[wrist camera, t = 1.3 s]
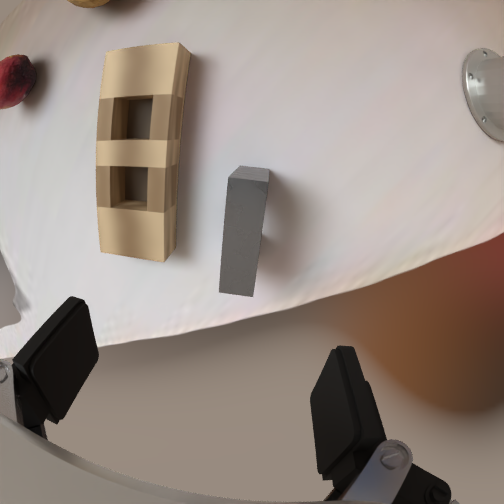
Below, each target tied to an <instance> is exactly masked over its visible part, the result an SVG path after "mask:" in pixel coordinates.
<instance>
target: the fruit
mask: <svg viewBox="0 0 504 504" xmlns="http://www.w3.org/2000/svg"><path fill="white" fill-rule="evenodd" d="M35 81H36V71H35V68H34V67H33V65H32V64H31V62H30V60H29V59H28V57H27V56H25V55H12V56H9V57H6V58H5V59H3V60H2V61H0V109H6V108H10V107H13V106H15V105H17V104H19V103H20V102H21V101H22V100H23V99H24V98H25V97H26V96H27V95H28V93H29V92H30V90H31V87H32V86H33V84H34V83H35Z"/></svg>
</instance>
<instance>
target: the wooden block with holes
mask: <svg viewBox="0 0 504 504" xmlns="http://www.w3.org/2000/svg"><path fill="white" fill-rule="evenodd" d="M190 55H191V53H190V52H189V51H188V50H187V49H186V48H185V47H184V46H183V45H181V44H180V43H165V44H154V45H145V46H137V47H130V48H124V49H118V50H112V51H107V52H106V56H105V62H104V68H103V75H102V82H101V90H100V99H99V109H98V122H97V140H96V197H97V216H98V230H99V240H100V250H101V252H103V253H109V254H115V255H121V256H127V257H134V258H140V259H146V260H153V261H159V262H165V261H166V259H167V258H168V257H169V256H170V254H171V253H172V252H173V250H174V249H175V248H176V213H177V187H178V168H179V153H180V140H181V129H182V118H183V109H184V100H185V91H186V83H187V76H188V69H189V62H190Z"/></svg>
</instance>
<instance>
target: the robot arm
mask: <svg viewBox="0 0 504 504" xmlns="http://www.w3.org/2000/svg"><path fill="white" fill-rule="evenodd" d="M462 78H463V87H464V92H465V96H466V99H467V102H468V105H469V107H470V110H471V112H472V114H473V116H474V118H475V120H476V121H477V123H478V124H479V126H480V127H481V128H482V129H483V130H484V131H485V132H486V134H488V135H489V136H490V137H492V138H494V139H496V140H499V141H504V56H503V57H500V56H499V55H498V54H497V53H495V52H493V51H491V50H489V49H483V48H481V49H476V50H474V51H472V52H470V53H469V54H468V55H467V57H466V59H465V61H464V65H463V73H462ZM98 357H99V353H98V349H97V345H96V341H95V336H94V332H93V328H92V323H91V318H90V313H89V308H88V305H87V304H86V303H85V301H84V300H83V299H80V298H76V297H73V296H71V297H69V298H68V299H67V300H66V301H65V302H64V303H63V304H62V305H61V306H60V307H59V308H58V309H57V310H56V311H55V312H54V313H53V314H52V315H51V317H50V318H49V319H48V320H47V321H46V322H45V323H44V324H43V325H42V326H41V327H40V328H39V330H38V331H37V332H36V333H35V334H34V335H33V336H32V337H31V338H30V340H29V341H28V342H27V343H26V344H25V345H24V346H23V348H22V349H21V350H20V351H19V352H18V354H17V355H16V356H15V357H14V359H13V362H14V363H13V364H12V365H11V364H10V363H9V362H8V361H7V360H3V359H0V504H459V503H458V502H457V501H456V500H453V501H452V500H451V490H450V487H449V485H448V484H447V483H446V482H444V481H443V480H441V479H439V478H438V477H436V476H434V475H432V474H430V473H429V472H427V471H425V470H423V469H422V468H420V467H418V466H416V465H415V464H413V463H412V461H413V457H412V452H411V450H410V449H409V447H408V446H407V445H406V444H405V443H403V442H401V441H399V440H392V439H391V440H387V439H386V435H385V432H384V428H383V425H382V421H381V419H380V415H379V412H378V409H377V405H376V402H375V399H374V396H373V393H372V390H371V387H370V384H369V382H368V381H365V379H364V376H363V373H362V370H361V367H360V364H359V361H358V358H357V355H356V352H355V349H354V347H352V346H337V348H336V349H332V350H331V352H330V355H329V357H328V359H327V361H326V363H325V366H324V368H323V370H322V372H321V375H320V376H319V379H318V381H317V383H316V385H315V387H314V389H313V391H312V393H311V397H310V404H311V413H312V421H313V430H314V439H315V449H316V459H317V469H318V473H319V474H322V477H323V480H333V487H334V489H333V490H332V491H331V492H330V493H329V495H328V496H327V497H326V498H325V499H324V501H317V502H269V501H251V500H240V499H239V500H238V499H230V498H222V497H215V496H209V495H203V494H197V493H191V492H186V491H182V490H177V489H173V488H168V487H164V486H161V485H157V484H153V483H150V482H146V481H143V480H139V479H136V478H133V477H130V476H127V475H124V474H121V473H119V472H116V471H113V470H111V469H108V468H105V467H103V466H100V465H98V464H95V463H93V462H91V461H88V460H86V459H84V458H82V457H79V456H77V455H75V454H73V453H71V452H69V451H67V450H65V449H63V448H61V447H59V446H57V445H55V444H53V443H51V442H49V441H48V439H47V435H46V431H45V426H44V421H45V419H47V420H49V421H51V422H53V423H55V424H58V422H59V420H61V419H63V418H64V417H65V415H66V413H67V412H68V410H69V408H70V406H71V405H72V403H73V401H74V399H75V398H76V396H77V394H78V392H79V391H80V389H81V387H82V386H83V384H84V382H85V380H86V379H87V377H88V376H89V374H90V372H91V371H92V369H93V367H94V366H95V364H96V363H97V361H98Z"/></svg>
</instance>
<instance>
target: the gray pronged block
mask: <svg viewBox="0 0 504 504" xmlns="http://www.w3.org/2000/svg"><path fill="white" fill-rule="evenodd" d="M268 182H269V169H264V168H256V167H248V166H239V167H238V168H237V169H236V170H235V171H234V172H233V173H232V174H231V175H230V176H229V177H228V186H227V196H226V207H225V219H224V231H223V243H222V256H221V270H220V284H219V292H221V293H228V294H235V295H242V296H250V297H253V293H254V286H255V279H256V271H257V264H258V257H259V249H260V242H261V235H262V227H263V220H264V213H265V205H266V198H267V190H268Z"/></svg>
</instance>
